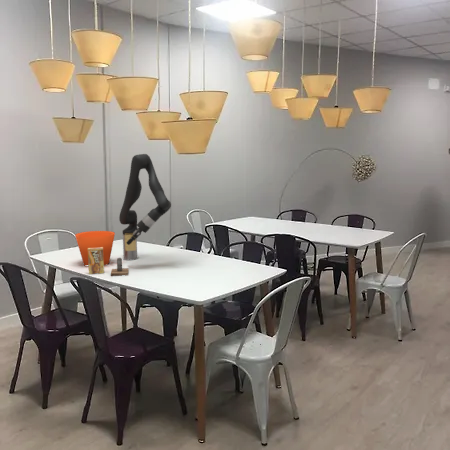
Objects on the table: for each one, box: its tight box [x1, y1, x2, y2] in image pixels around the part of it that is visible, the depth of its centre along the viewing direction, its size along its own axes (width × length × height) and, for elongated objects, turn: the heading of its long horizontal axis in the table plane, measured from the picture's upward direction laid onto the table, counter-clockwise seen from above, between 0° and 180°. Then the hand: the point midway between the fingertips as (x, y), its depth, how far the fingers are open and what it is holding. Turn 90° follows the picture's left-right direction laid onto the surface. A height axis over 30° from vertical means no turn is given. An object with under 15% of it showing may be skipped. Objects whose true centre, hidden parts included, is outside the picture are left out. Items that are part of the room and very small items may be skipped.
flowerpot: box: [74, 230, 116, 266], centre depth 317 cm, size 25×25×20 cm
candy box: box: [88, 247, 105, 275], centre depth 292 cm, size 9×4×15 cm, turn 104°
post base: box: [110, 257, 130, 277], centre depth 292 cm, size 12×10×10 cm
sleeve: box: [125, 233, 136, 251], centre depth 302 cm, size 6×6×10 cm
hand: (127, 242), depth 302 cm, fingers closed on sleeve, 6 cm apart
